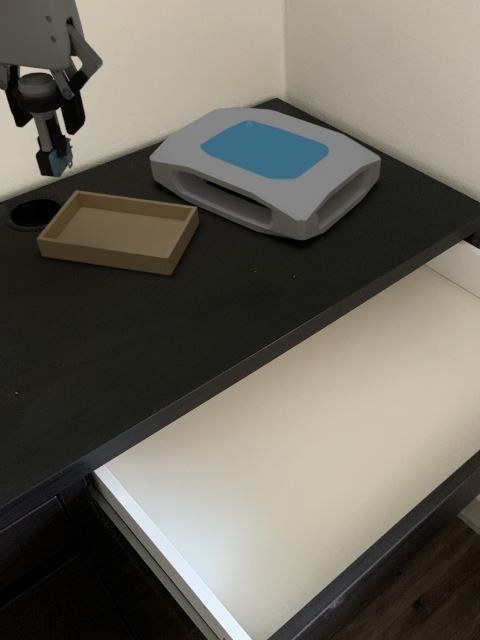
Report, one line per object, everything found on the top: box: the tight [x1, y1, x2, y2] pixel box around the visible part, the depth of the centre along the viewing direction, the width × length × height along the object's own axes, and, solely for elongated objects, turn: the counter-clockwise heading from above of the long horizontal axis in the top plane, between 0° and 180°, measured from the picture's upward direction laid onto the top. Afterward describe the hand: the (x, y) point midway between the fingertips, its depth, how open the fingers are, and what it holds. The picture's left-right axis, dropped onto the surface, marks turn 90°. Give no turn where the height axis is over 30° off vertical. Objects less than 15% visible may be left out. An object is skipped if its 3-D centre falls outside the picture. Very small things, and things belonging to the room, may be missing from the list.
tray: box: [35, 189, 200, 277], centre depth 91 cm, size 18×12×3 cm
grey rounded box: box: [149, 106, 382, 241], centre depth 99 cm, size 21×28×6 cm
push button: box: [12, 71, 74, 178], centre depth 74 cm, size 7×5×10 cm
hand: (50, 124), depth 74 cm, fingers closed on push button, 5 cm apart
